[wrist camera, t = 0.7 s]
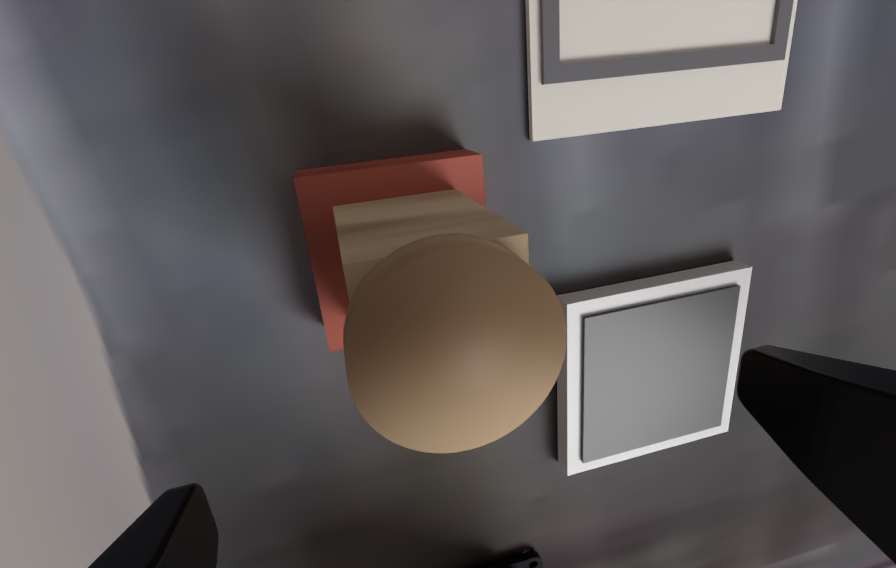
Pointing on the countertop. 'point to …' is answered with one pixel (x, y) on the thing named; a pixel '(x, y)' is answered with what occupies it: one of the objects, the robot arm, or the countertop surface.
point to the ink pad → (649, 363)
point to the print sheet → (652, 62)
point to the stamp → (430, 299)
